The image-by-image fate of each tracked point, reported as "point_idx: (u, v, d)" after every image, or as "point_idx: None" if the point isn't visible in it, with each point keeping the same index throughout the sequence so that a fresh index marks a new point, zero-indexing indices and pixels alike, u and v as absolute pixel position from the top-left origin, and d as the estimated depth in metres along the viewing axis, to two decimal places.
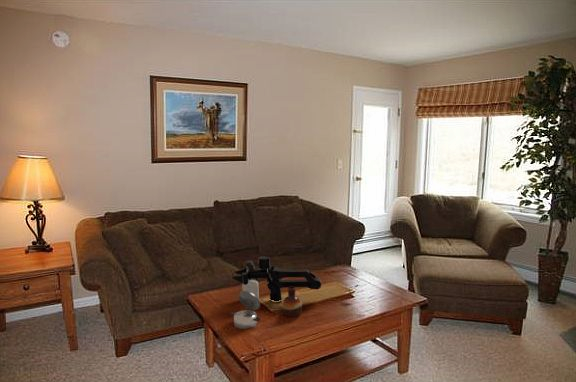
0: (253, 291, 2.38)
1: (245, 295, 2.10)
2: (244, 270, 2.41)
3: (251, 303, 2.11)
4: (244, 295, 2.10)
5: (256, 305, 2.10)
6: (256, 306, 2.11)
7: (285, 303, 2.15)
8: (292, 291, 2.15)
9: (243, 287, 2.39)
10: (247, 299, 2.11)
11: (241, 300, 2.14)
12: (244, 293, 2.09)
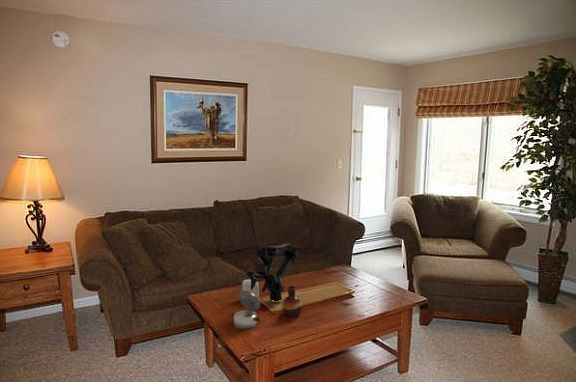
0: (253, 291, 2.38)
1: (245, 295, 2.10)
2: (253, 279, 2.23)
3: (251, 303, 2.11)
4: (244, 295, 2.10)
5: (256, 305, 2.10)
6: (256, 306, 2.11)
7: (285, 303, 2.15)
8: (292, 291, 2.15)
9: (243, 287, 2.39)
10: (247, 299, 2.11)
11: (241, 300, 2.14)
12: (244, 293, 2.09)
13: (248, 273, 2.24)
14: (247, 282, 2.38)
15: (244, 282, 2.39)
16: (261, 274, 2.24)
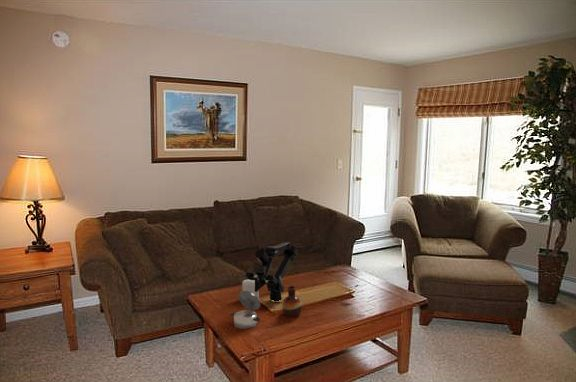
0: (253, 291, 2.38)
1: (245, 295, 2.10)
2: (257, 281, 2.20)
3: (251, 303, 2.11)
4: (244, 295, 2.10)
5: (256, 305, 2.10)
6: (256, 306, 2.11)
7: (285, 303, 2.15)
8: (292, 291, 2.15)
9: (243, 287, 2.39)
10: (247, 299, 2.11)
11: (241, 300, 2.14)
12: (244, 293, 2.09)
13: (247, 274, 2.23)
14: (247, 282, 2.38)
15: (244, 282, 2.39)
16: (260, 275, 2.22)
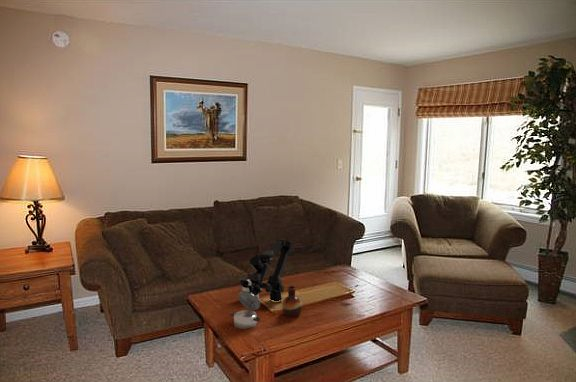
0: None
1: (245, 295, 2.09)
2: (252, 289, 2.15)
3: (251, 303, 2.11)
4: (244, 295, 2.10)
5: (256, 305, 2.10)
6: (256, 306, 2.11)
7: (285, 303, 2.15)
8: (292, 291, 2.15)
9: (243, 287, 2.39)
10: (247, 299, 2.11)
11: (241, 300, 2.14)
12: (244, 293, 2.09)
13: (241, 281, 2.18)
14: None
15: None
16: (254, 282, 2.18)
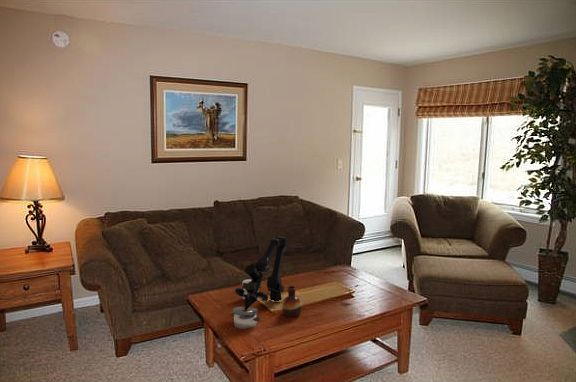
0: None
1: None
2: (247, 298, 2.12)
3: None
4: None
5: None
6: None
7: (285, 303, 2.15)
8: (292, 291, 2.15)
9: None
10: None
11: None
12: None
13: (237, 290, 2.15)
14: (247, 282, 2.38)
15: (244, 282, 2.39)
16: (250, 291, 2.14)
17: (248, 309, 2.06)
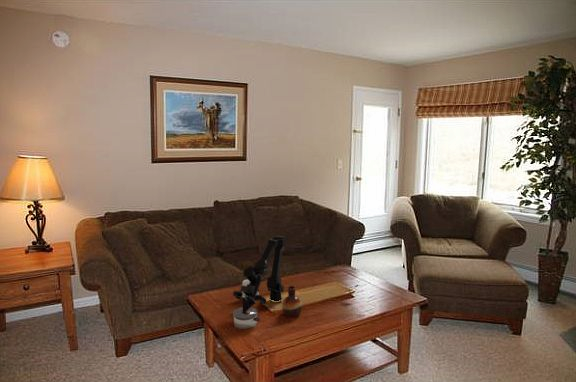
0: None
1: None
2: (245, 301, 2.10)
3: None
4: None
5: None
6: None
7: (285, 303, 2.15)
8: (292, 291, 2.15)
9: None
10: None
11: None
12: None
13: (235, 293, 2.13)
14: (247, 282, 2.38)
15: (244, 282, 2.39)
16: (248, 294, 2.13)
17: (248, 312, 2.06)
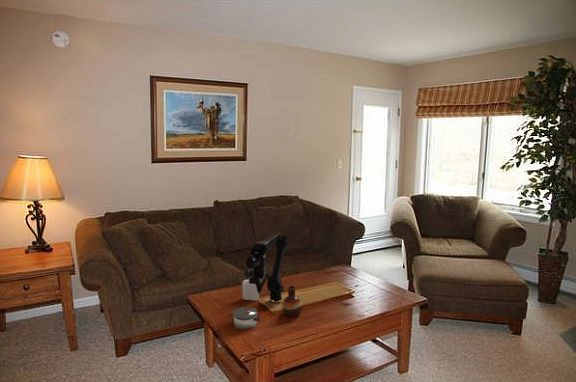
0: (253, 291, 2.38)
1: None
2: None
3: None
4: None
5: None
6: None
7: (285, 303, 2.15)
8: (292, 291, 2.15)
9: (243, 287, 2.39)
10: None
11: None
12: None
13: None
14: (247, 282, 2.38)
15: (244, 282, 2.39)
16: None
17: (248, 312, 2.06)
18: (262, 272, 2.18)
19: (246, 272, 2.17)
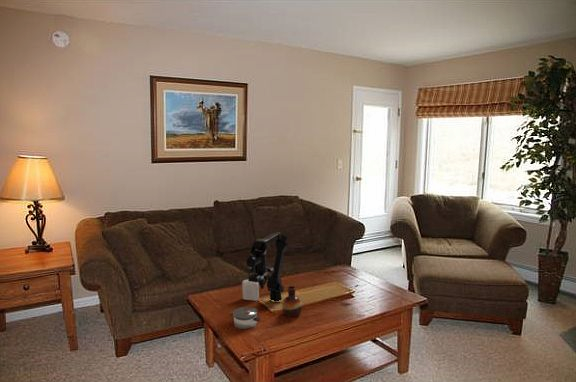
0: (253, 291, 2.38)
1: None
2: None
3: None
4: None
5: None
6: None
7: (285, 303, 2.15)
8: (292, 291, 2.15)
9: (243, 287, 2.39)
10: None
11: None
12: None
13: None
14: (247, 282, 2.38)
15: (244, 282, 2.39)
16: None
17: (248, 312, 2.06)
18: (263, 269, 2.19)
19: (247, 269, 2.21)
